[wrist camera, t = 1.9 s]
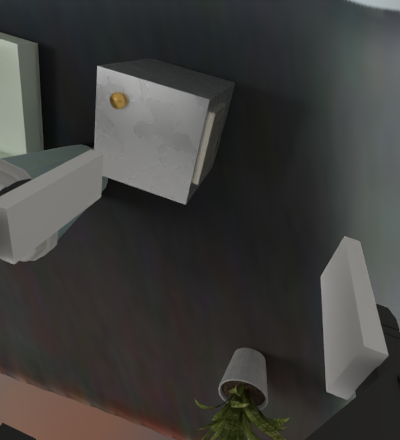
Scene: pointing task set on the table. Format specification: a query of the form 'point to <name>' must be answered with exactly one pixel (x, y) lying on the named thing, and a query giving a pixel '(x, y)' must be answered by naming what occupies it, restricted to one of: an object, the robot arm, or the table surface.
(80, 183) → the robot arm
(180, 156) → the unit
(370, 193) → the table surface
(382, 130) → the table surface
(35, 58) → the tray
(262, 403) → the house plant
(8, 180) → the disposable coffee cup
